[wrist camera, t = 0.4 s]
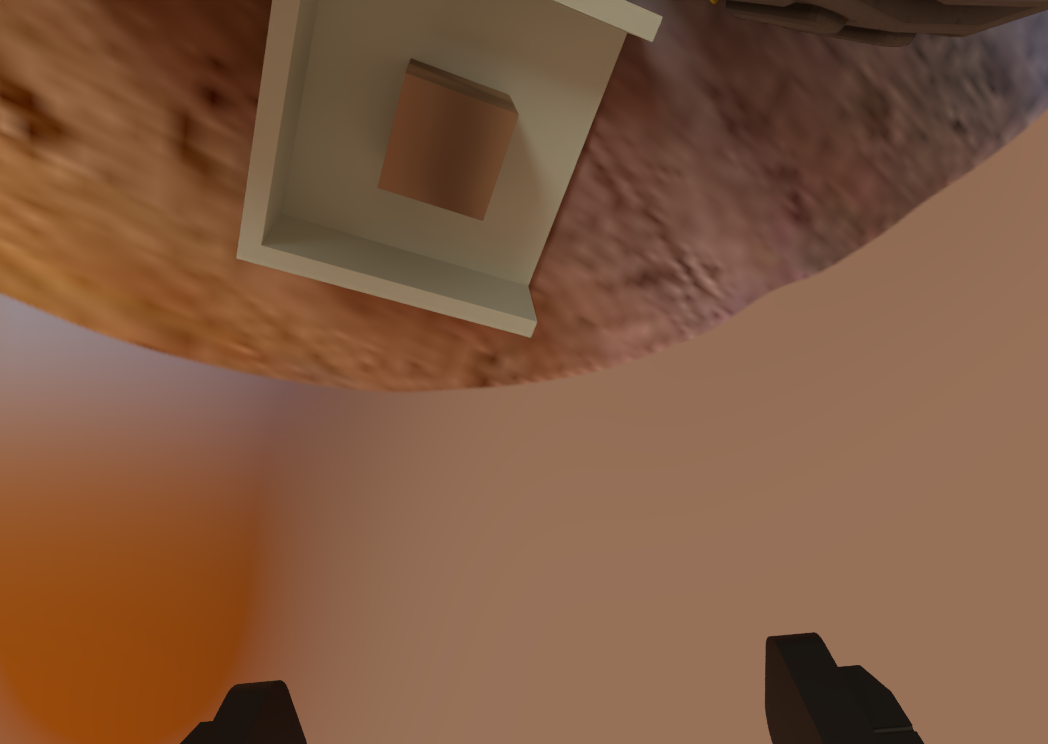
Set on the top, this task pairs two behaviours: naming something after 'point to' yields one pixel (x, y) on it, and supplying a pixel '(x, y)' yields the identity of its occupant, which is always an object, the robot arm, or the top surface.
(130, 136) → the top surface
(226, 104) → the top surface
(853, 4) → the decorative lamp
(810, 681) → the robot arm
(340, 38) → the open box
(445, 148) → the walnut block
